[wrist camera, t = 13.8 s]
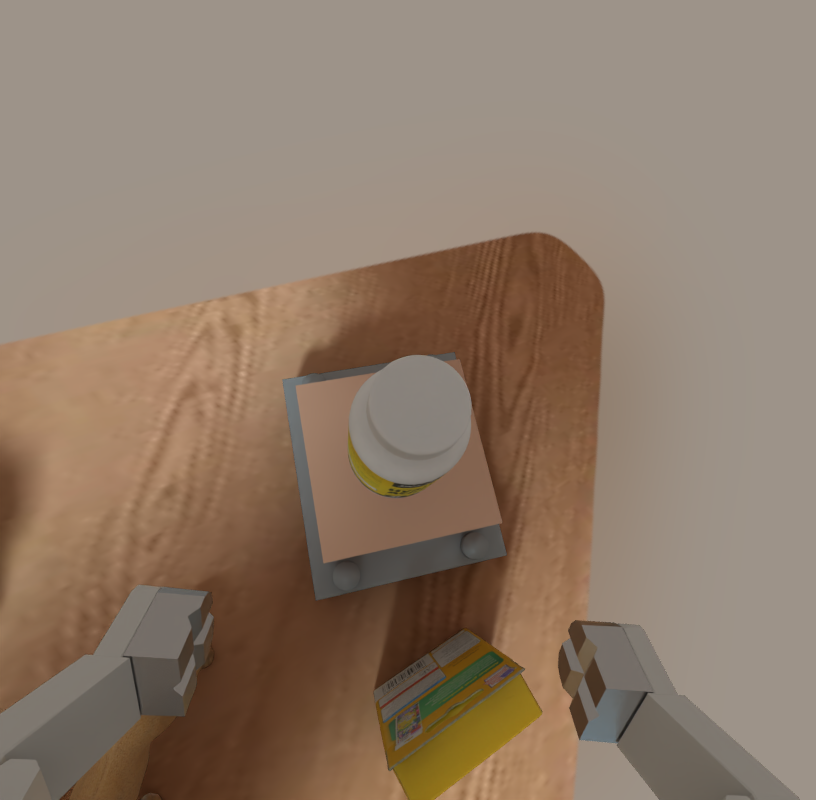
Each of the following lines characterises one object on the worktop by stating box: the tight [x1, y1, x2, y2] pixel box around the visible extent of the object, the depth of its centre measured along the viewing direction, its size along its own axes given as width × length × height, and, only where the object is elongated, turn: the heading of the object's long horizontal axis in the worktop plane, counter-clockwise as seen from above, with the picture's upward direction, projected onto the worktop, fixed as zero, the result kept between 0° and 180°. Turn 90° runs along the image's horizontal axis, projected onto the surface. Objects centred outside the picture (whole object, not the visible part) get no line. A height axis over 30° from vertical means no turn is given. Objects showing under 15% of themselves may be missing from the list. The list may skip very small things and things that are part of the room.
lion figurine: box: [69, 648, 214, 800], centre depth 25 cm, size 15×5×9 cm, turn 174°
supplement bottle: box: [348, 355, 472, 498], centre depth 23 cm, size 5×5×10 cm
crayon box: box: [374, 628, 542, 800], centre depth 26 cm, size 7×3×12 cm, turn 121°
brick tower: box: [283, 352, 507, 601], centre depth 31 cm, size 14×12×8 cm
